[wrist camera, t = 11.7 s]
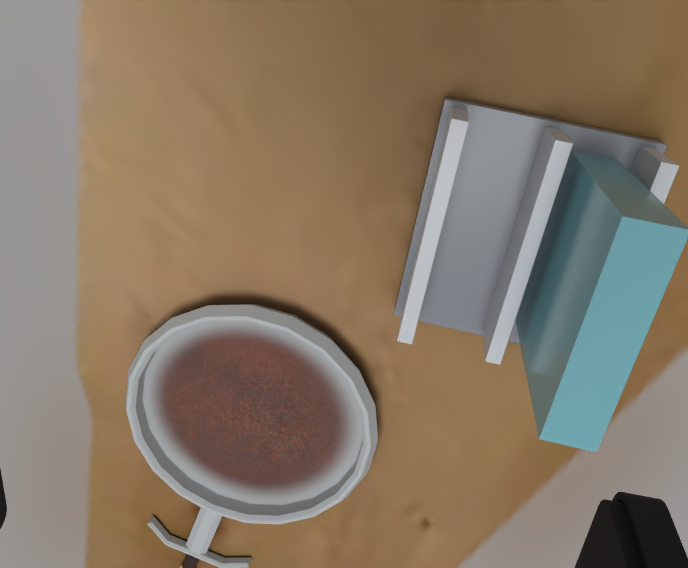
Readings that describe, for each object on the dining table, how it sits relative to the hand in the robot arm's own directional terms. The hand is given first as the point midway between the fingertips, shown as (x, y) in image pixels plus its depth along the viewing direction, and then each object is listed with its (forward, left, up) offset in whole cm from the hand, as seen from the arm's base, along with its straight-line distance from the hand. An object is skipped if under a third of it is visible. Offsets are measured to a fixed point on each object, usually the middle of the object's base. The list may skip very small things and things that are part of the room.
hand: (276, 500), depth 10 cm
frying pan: (+25, -7, -28) cm, 39 cm away
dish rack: (+4, +7, -28) cm, 29 cm away
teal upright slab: (+4, +10, -27) cm, 29 cm away
